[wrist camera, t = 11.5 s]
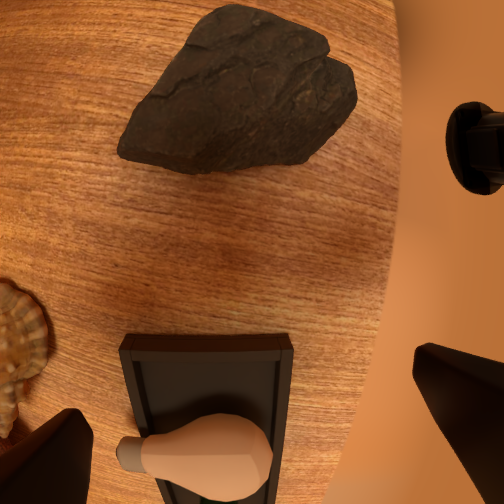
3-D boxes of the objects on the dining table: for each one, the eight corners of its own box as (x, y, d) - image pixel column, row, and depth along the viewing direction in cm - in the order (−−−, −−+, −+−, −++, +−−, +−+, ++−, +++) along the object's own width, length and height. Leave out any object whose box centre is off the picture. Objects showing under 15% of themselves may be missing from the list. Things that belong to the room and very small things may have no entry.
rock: (352, 86, 17) (223, -9, 13) (406, 97, 13) (238, -41, 8) (258, 210, 21) (123, 136, 17) (280, 258, 16) (97, 164, 12)
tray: (287, 333, 20) (294, 349, 18) (266, 531, 28) (268, 543, 26) (125, 333, 19) (117, 349, 17) (184, 532, 27) (183, 544, 25)
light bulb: (118, 509, 14) (279, 516, 14) (85, 443, 14) (274, 450, 14) (140, 457, 21) (272, 457, 21) (120, 394, 20) (267, 392, 21)
